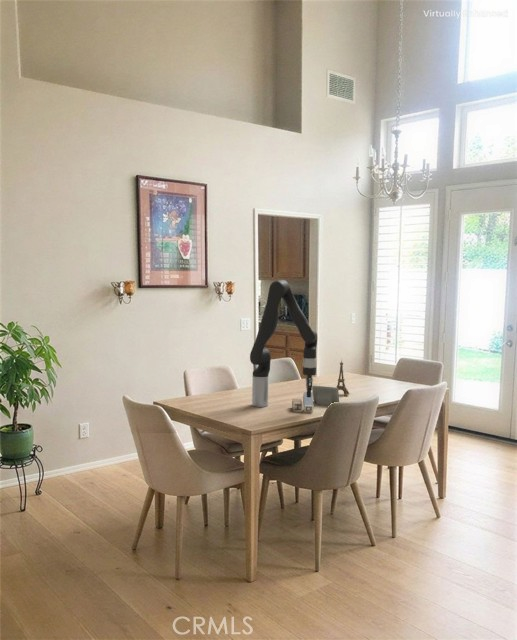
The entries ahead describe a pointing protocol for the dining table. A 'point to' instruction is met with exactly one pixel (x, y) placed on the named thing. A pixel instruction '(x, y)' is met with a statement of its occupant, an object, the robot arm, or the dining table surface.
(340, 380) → the eiffel tower
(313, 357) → the robot arm
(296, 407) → the walnut block
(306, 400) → the slate-blue block
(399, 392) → the dining table surface
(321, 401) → the digital clock
